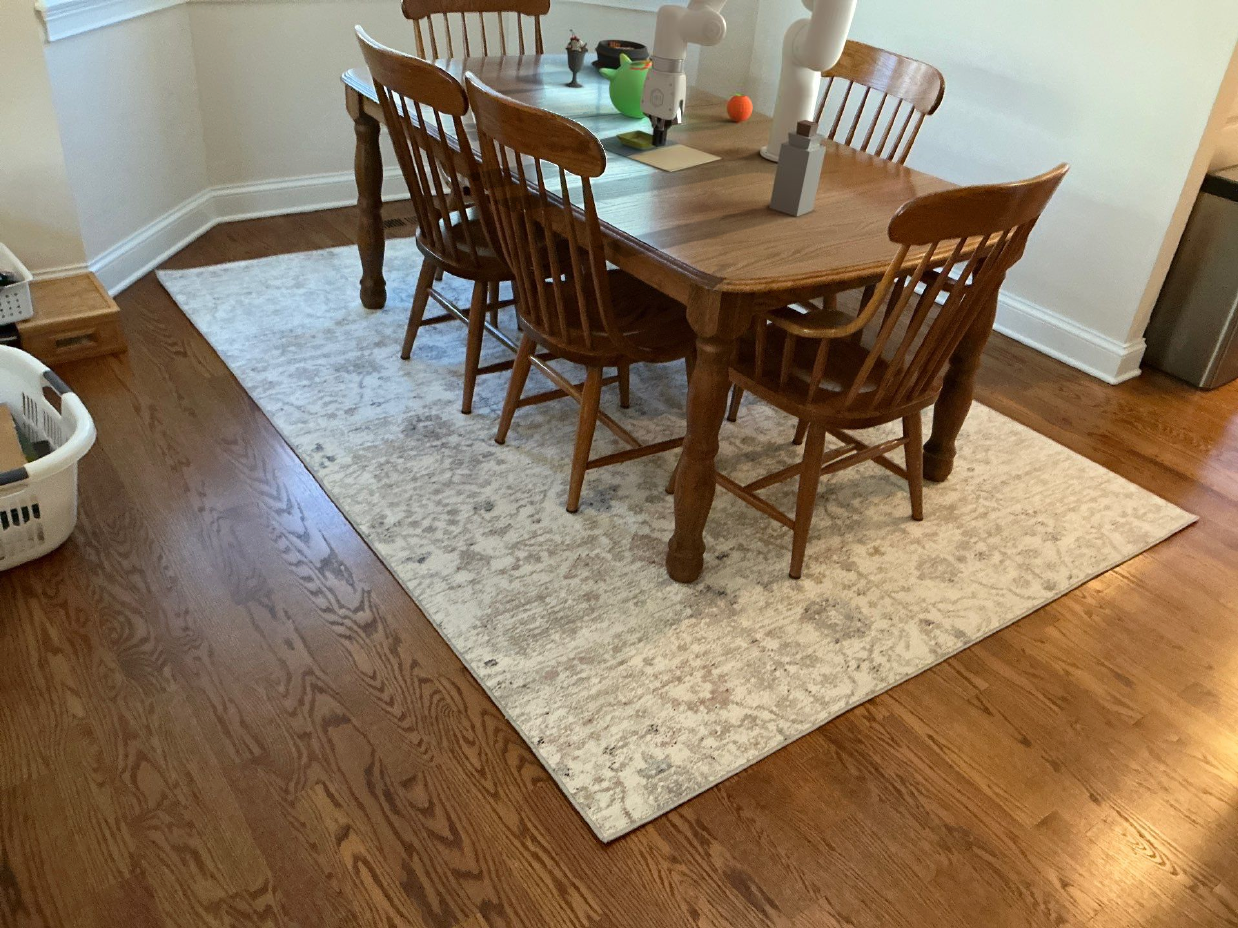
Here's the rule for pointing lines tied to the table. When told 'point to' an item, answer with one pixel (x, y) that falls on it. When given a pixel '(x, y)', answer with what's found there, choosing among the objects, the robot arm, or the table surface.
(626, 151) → the placemat
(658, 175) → the table surface
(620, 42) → the casserole
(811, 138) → the perfume bottle
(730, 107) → the clementine
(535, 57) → the table surface
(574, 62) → the sundae
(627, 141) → the green square dish
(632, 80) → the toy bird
